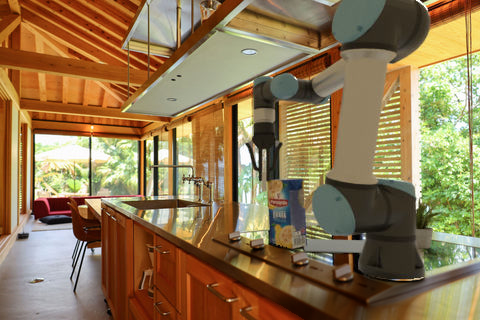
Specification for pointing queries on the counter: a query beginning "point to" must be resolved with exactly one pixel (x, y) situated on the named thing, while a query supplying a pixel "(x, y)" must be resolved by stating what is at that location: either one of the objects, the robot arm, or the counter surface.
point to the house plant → (424, 225)
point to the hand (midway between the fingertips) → (264, 191)
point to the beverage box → (287, 212)
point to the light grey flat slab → (334, 246)
